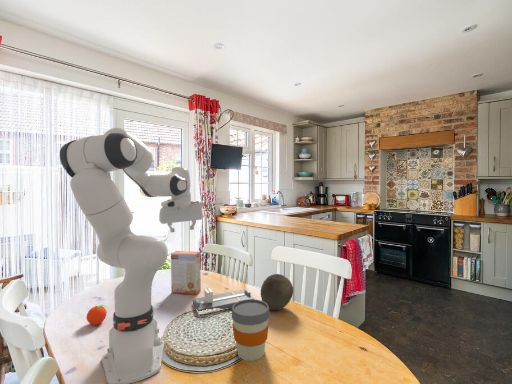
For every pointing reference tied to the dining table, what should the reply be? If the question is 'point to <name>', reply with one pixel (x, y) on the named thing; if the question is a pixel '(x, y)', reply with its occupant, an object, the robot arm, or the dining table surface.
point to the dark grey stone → (276, 291)
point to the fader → (208, 295)
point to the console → (222, 300)
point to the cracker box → (185, 272)
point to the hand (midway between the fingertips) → (182, 230)
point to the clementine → (96, 315)
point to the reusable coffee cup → (250, 328)
